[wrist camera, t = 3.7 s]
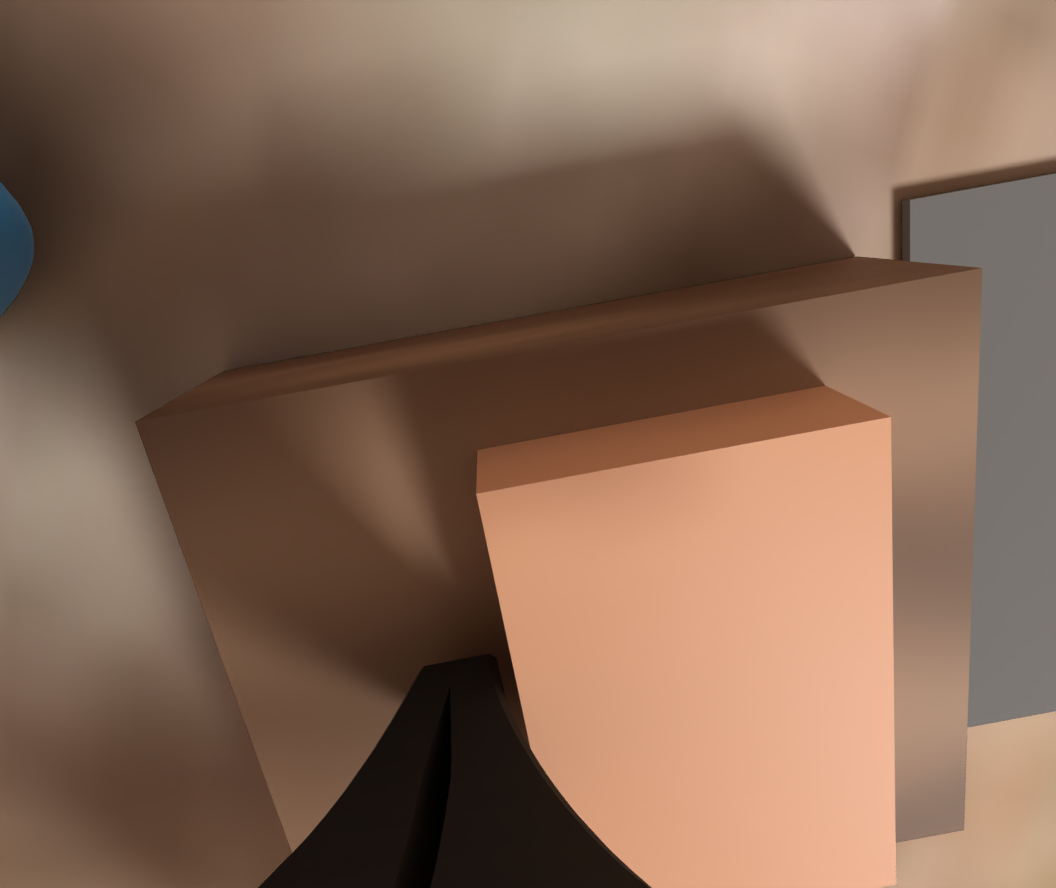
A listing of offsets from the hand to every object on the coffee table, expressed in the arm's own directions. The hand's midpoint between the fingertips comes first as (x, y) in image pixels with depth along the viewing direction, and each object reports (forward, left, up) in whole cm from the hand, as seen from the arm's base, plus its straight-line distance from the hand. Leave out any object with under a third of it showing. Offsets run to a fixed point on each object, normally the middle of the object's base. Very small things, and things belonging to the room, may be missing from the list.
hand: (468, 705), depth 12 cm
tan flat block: (0, -3, -5) cm, 5 cm away
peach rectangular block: (0, -4, -1) cm, 4 cm away
